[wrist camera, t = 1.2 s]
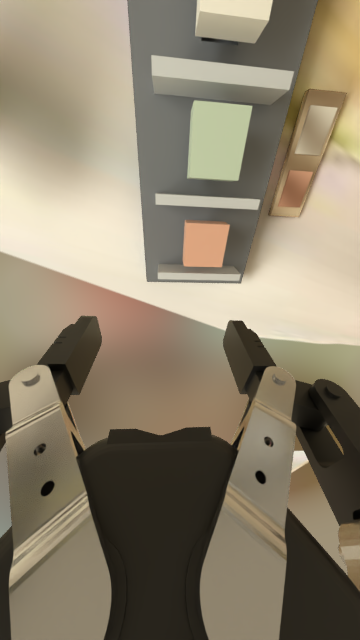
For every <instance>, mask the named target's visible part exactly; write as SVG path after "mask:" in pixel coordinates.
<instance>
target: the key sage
mask: <svg viewBox="0 0 360 640" xmlns="http://www.w3.org/2000/svg"><path fill="white" fill-rule="evenodd" d="M251 111H252V106H249V105H239V104H229V103H218V102H208V101H198V100H194V102H193V106H192V109H191V118H190V136H189V154H188V172H187V179H200V180H216V181H238V179H239V174H240V169H241V164H242V158H243V153H244V148H245V143H246V138H247V132H248V127H249V122H250V117H251Z"/></svg>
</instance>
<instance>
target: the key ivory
mask: <svg viewBox="0 0 360 640" xmlns="http://www.w3.org/2000/svg"><path fill="white" fill-rule="evenodd" d="M272 2H273V0H197V11H196V29H195V36H199V37H207V38H215V39H223V40H231V41H239V42H247V43H256V41H257V39H258V38H259V36H260V34H261V33H262V31H263V29H264V28H265V26H266V25H267V23H268V21H269V17H270V12H271V7H272Z"/></svg>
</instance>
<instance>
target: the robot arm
mask: <svg viewBox="0 0 360 640" xmlns="http://www.w3.org/2000/svg"><path fill="white" fill-rule="evenodd" d="M101 342H102V336H101V332H100V328H99V324H98V320H97V317H96V316H81V317H80V318H79V319H78V321H77V322H76V323H75V324H71V325H69V326H68V327H67V328H65V329H64V330H63V331H62V332H61V333H60V335H59V336H58V338H57V339H56V340H55V341H54V344H52V345H51V347H50V348H49V349H48V350H47V352H46V353H45V354H44V356H43V357H42V358H41V360H40V361H39V362H38V364H37V365H35V366H31V367H28V368H25V369H23V370H22V371H20V372H19V373H17V374H16V375H15V376H14V377H13V378H12V380H9V381H5V382H1V383H0V451H1V449H2V448H3V446H4V444H5V443H6V451H7V464H8V479H9V493H10V507H11V520H12V526H11V527H10V528H9V530H7V532H6V533H5V534H4V535H3V536H2V537H1V538H0V640H360V408H359V407H358V405H357V404H356V403H355V402H354V401H353V399H352V398H351V397H350V396H349V395H348V393H347V392H346V391H345V390H344V389H343V388H341V387H340V386H339V385H337V384H335V383H334V382H331V381H329V380H325V379H318V380H316V381H315V383H314V384H313V385H311V384H307V383H304V382H300V381H296V380H295V379H294V378H293V377H292V375H291V374H290V373H288V372H287V371H286V370H284V369H282V368H279V367H277V366H276V365H275V363H274V362H273V360H272V358H271V356H270V355H269V353H268V352H267V350H266V348H264V345H263V344H262V342H261V340H260V339H259V337H258V335H257V334H256V333H255V332H253V331H252V330H251V329H247V327H246V326H245V324H244V322H243V321H232V320H230V321H229V322H228V325H227V329H226V332H225V336H224V339H223V347H224V350H225V353H226V356H227V358H228V362H229V364H230V367H231V370H232V373H233V376H234V378H235V381H236V384H237V387H238V390H239V393H240V394H248V396H249V400H248V402H247V404H246V407H245V410H244V412H243V415H242V418H241V420H240V423H239V425H238V428H237V431H236V433H235V435H234V437H233V439H232V441H231V444H229V443H228V442H227V441H225V440H223V439H221V438H219V437H217V436H215V435H211V430H210V427H193V428H184V429H181V430H178V431H174V432H172V433H169V434H165V435H156V434H152V433H149V432H145V431H141V430H138V429H115V430H114V429H113V430H110V432H109V436H108V438H105V439H103V440H100V441H98V442H97V443H95V444H93V445H91V446H90V447H89V448H87V449H86V448H85V445H84V443H83V441H82V439H81V436H80V434H79V431H78V428H77V426H76V423H75V420H74V417H73V415H72V412H71V409H70V406H69V403H68V399H69V397H70V395H79V394H80V392H81V390H82V387H83V385H84V383H85V381H86V378H87V376H88V374H89V372H90V369H91V367H92V365H93V362H94V360H95V358H96V356H97V353H98V351H99V349H100V346H101ZM327 425H329V427H330V428H331V430H332V431H333V433H334V435H335V436H336V438H337V439H338V441H339V443H340V444H341V446H342V448H343V452H344V455H343V454H342V452H341V451H340V449H339V448H338V446H337V444H336V443H335V441H334V440H333V438H332V436H331V434H330V433H329V431H328V430H327V428H326V426H327ZM295 435H297V437H298V439H299V441H300V443H301V446H302V448H303V450H304V452H305V454H306V456H307V458H308V460H309V463H310V465H311V467H312V469H313V471H314V473H315V475H316V477H317V479H318V482H319V484H320V486H321V488H322V490H323V492H324V494H325V496H326V498H327V500H328V503H329V505H330V507H331V509H332V511H333V513H334V515H335V517H336V519H337V522H338V524H339V526H340V528H339V531H338V538H339V543H340V544H339V546H338V550H339V554H340V557H341V559H342V561H343V562H344V564H345V565H346V566H347V574H348V576H347V575H346V573H345V572H344V571H343V570H342V569H341V568H340V567H339V566H338V564H337V563H336V562H335V561H334V560H333V559H332V558H331V556H330V555H329V554H328V553H327V552H326V551H325V550H324V548H323V547H322V546H321V545H320V544H319V543H318V542H317V540H316V539H315V538H314V537H313V536H312V535H311V534H310V533H309V531H308V530H307V529H306V528H305V527H304V526H303V525H302V523H301V522H300V521H299V520H298V519H297V518H296V517H295V515H294V514H293V513H292V512H291V511H290V510H289V509H288V507H287V503H288V495H289V487H290V478H291V470H292V461H293V452H294V443H295Z"/></svg>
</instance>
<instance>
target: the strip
mask: <svg viewBox="0 0 360 640" xmlns="http://www.w3.org/2000/svg"><path fill="white" fill-rule="evenodd" d="M346 94H347V93H343V92H334V91H325V90H316V89H309V90H307V91H306V92H305V94H304V97H303V101H302V104H301V107H300V111H299V114H298V118H297V121H296V124H295V128H294V131H293V134H292V138H291V141H290V144H289V148H288V151H287V154H286V158H285V161H284V164H283V168H282V171H281V175H280V178H279V181H278V185H277V188H276V191H275V195H274V198H273V201H272V205H271V208H270V211H269V215H271V216H291V217H299V215H300V212H301V210H302V207H303V205H304V202H305V200H306V197H307V194H308V192H309V189H310V187H311V184H312V182H313V179H314V176H315V174H316V171H317V169H318V166H319V163H320V161H321V158H322V156H323V153H324V151H325V148H326V145H327V143H328V140H329V138H330V135H331V133H332V130H333V127H334V125H335V122H336V120H337V117H338V115H339V112H340V109H341V107H342V104H343V102H344V99H345V97H346Z"/></svg>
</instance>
